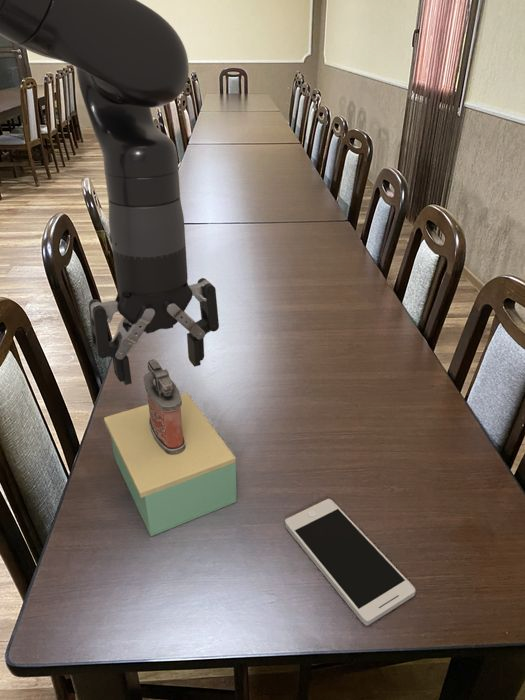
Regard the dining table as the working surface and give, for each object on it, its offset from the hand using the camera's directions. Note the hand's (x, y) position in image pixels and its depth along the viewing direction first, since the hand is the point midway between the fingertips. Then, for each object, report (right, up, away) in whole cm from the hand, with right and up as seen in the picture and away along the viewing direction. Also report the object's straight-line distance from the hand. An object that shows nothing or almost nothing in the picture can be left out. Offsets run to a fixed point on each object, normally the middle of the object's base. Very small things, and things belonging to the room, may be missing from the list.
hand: (161, 371), depth 64 cm
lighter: (0, -9, +5) cm, 10 cm away
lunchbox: (0, -15, +9) cm, 18 cm away
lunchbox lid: (0, -9, +5) cm, 11 cm away
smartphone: (+22, -22, -2) cm, 31 cm away
